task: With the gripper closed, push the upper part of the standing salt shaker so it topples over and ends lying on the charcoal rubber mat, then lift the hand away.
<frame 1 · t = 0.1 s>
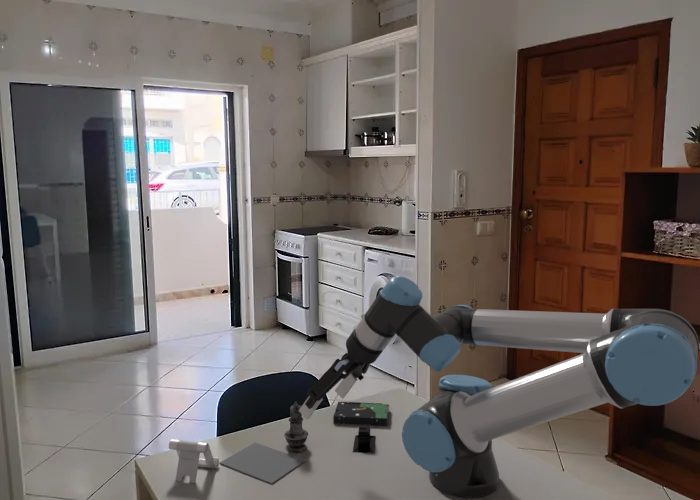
hand: (322, 404, 129), 15 cm above the table, tool tilted 35°, fingers open, 13 cm apart
portable electronic device stand: (193, 473, 129), on the table
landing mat: (262, 462, 134), on the table
disk drive: (361, 419, 159), on the table
salt shaker: (296, 448, 141), on the table
build plate: (364, 446, 143), on the table
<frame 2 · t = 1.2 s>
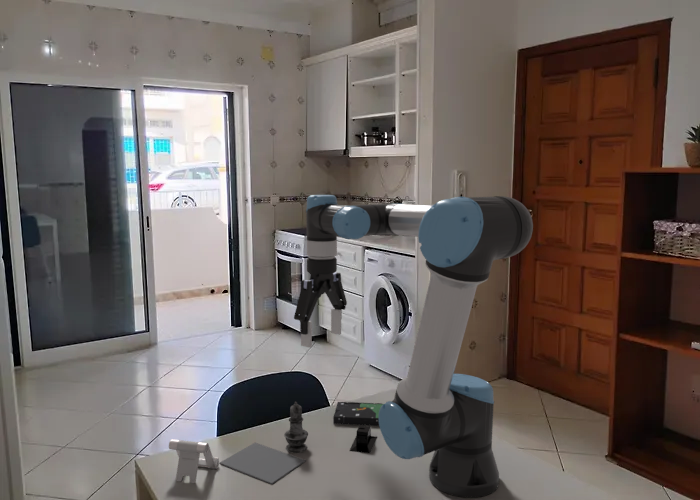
hand: (321, 339, 146), 25 cm above the table, tool pointing down, fingers open, 12 cm apart
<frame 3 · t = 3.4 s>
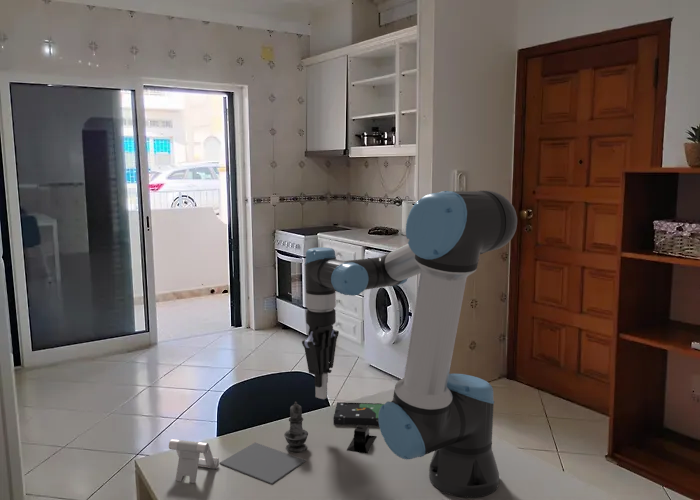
hand: (321, 397, 148), 9 cm above the table, tool pointing down, fingers closed
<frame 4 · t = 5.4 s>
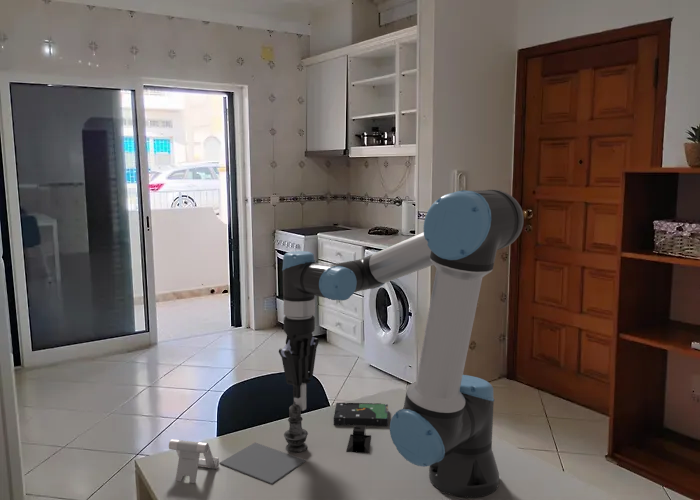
hand: (300, 408, 141), 9 cm above the table, tool pointing down, fingers closed
salt shaker: (296, 448, 141), on the table, touching gripper
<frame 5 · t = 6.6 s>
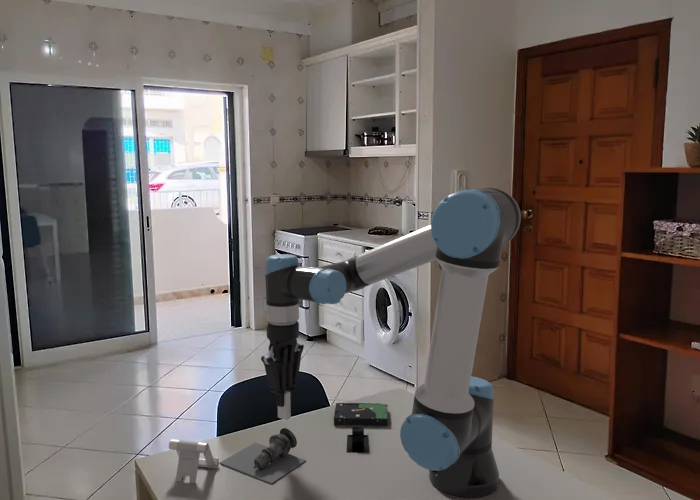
hand: (284, 417, 136), 9 cm above the table, tool pointing down, fingers closed
salt shaker: (288, 437, 138), point 4 cm above the table, touching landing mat
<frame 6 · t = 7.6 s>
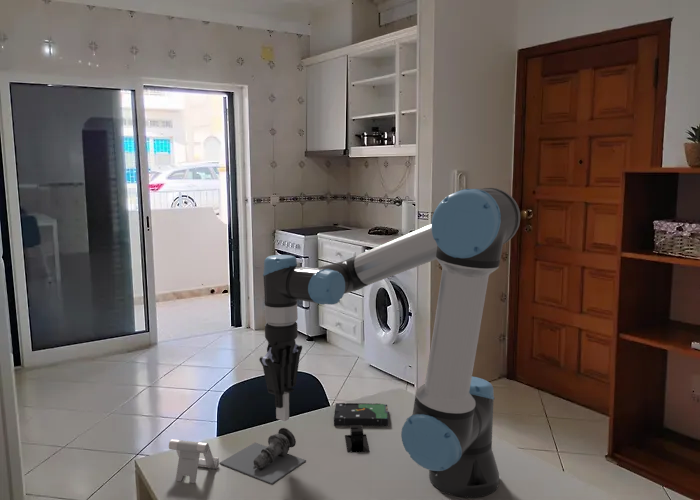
hand: (282, 418, 135), 9 cm above the table, tool pointing down, fingers closed
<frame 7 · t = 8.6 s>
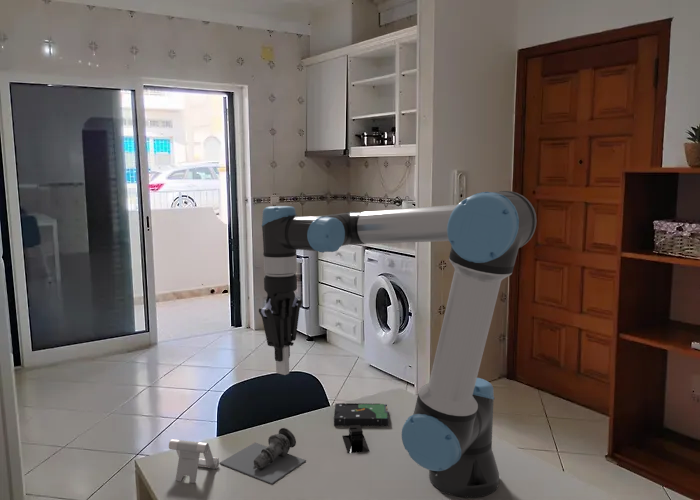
hand: (282, 372, 134), 21 cm above the table, tool pointing down, fingers closed
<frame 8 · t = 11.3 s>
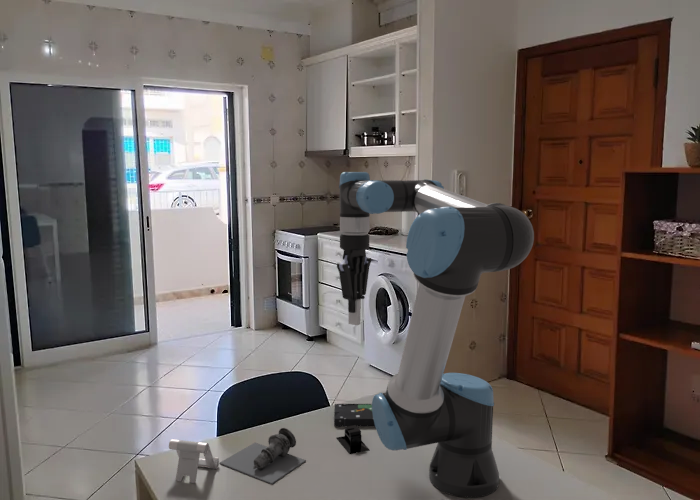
hand: (354, 323, 148), 28 cm above the table, tool pointing down, fingers closed
at the end: salt shaker tilted 103°; salt shaker inside the target area (4.8 cm from its centre), point 4.0 cm above the table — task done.
